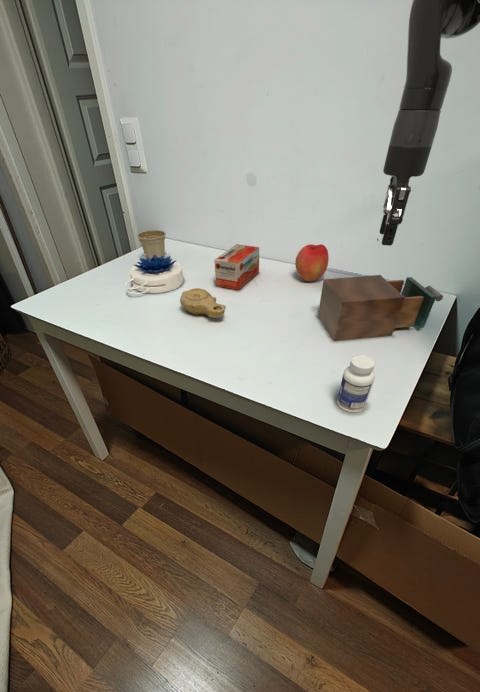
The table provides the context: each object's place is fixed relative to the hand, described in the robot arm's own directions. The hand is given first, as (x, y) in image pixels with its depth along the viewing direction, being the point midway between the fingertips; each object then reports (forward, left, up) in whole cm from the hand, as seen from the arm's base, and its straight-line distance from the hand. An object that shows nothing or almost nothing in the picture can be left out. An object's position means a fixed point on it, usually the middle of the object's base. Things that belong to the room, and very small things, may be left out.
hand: (385, 239), depth 75 cm
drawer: (-8, 0, -18) cm, 20 cm away
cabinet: (+3, +3, -19) cm, 20 cm away
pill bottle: (+5, +34, -19) cm, 39 cm away
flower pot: (+68, -31, -19) cm, 77 cm away
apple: (+15, -23, -19) cm, 34 cm away
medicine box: (+37, -20, -19) cm, 46 cm away
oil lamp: (+42, +3, -19) cm, 46 cm away
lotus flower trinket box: (+62, -12, -19) cm, 66 cm away
